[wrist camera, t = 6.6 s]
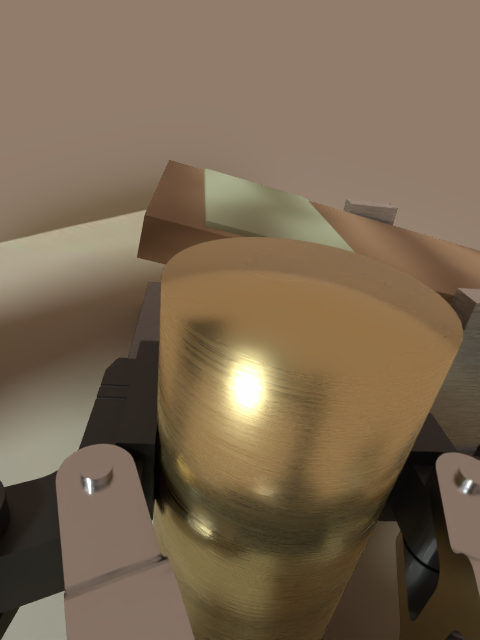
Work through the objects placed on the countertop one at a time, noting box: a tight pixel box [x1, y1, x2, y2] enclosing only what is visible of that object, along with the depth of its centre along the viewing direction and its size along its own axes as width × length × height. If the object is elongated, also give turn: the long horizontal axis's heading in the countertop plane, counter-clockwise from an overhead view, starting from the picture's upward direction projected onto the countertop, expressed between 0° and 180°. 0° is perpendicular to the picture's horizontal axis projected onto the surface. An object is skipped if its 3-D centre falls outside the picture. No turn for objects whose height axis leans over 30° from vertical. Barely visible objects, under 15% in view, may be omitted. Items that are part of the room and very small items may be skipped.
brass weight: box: [153, 237, 463, 640], centre depth 9 cm, size 5×5×10 cm
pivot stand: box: [128, 199, 480, 461], centre depth 22 cm, size 28×15×8 cm, turn 94°
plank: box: [137, 160, 480, 305], centre depth 21 cm, size 26×11×2 cm, turn 94°
